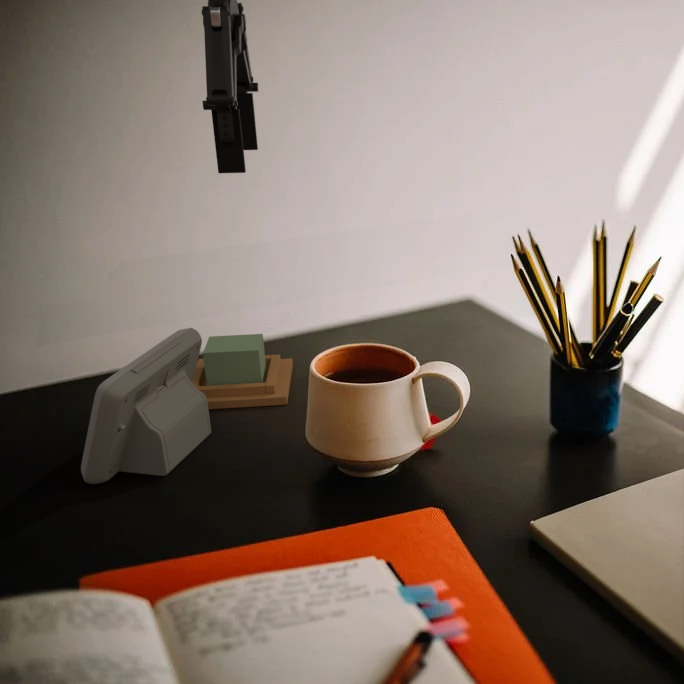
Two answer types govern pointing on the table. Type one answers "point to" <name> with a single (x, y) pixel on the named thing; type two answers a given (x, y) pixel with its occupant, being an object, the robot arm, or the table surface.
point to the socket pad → (249, 387)
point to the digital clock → (148, 413)
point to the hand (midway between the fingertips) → (239, 160)
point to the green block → (234, 359)
